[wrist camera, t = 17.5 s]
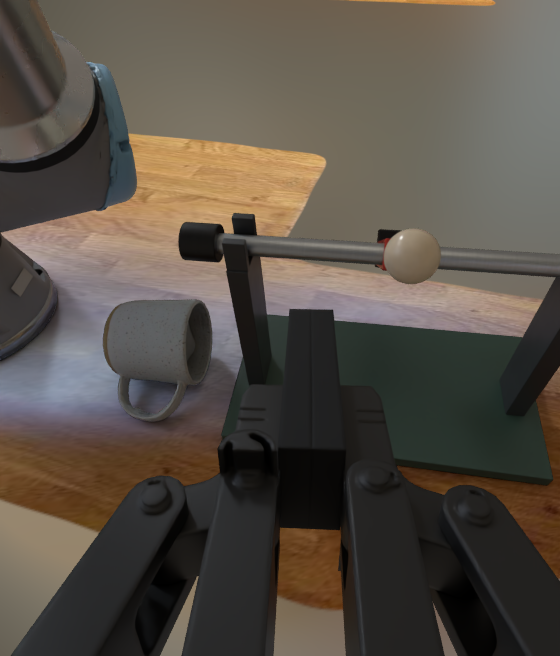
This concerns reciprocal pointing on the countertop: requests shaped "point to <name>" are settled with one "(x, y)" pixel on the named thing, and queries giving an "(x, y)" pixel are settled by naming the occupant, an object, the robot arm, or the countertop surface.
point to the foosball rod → (371, 253)
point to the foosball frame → (418, 378)
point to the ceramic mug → (158, 347)
